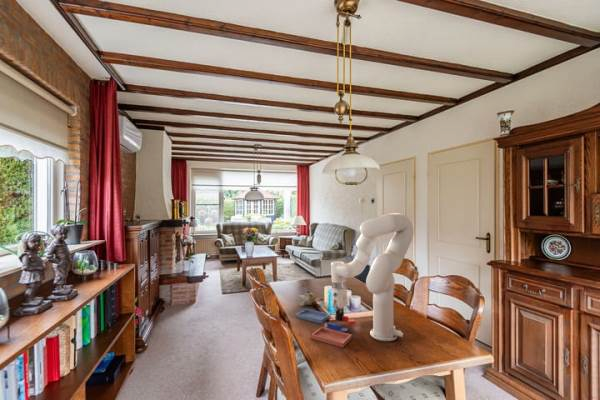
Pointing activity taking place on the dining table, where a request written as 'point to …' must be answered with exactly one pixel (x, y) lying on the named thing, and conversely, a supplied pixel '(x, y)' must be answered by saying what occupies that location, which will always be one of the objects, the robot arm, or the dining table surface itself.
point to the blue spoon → (336, 327)
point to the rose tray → (331, 337)
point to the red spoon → (347, 319)
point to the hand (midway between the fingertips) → (340, 319)
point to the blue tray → (312, 316)
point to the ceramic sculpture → (307, 299)
